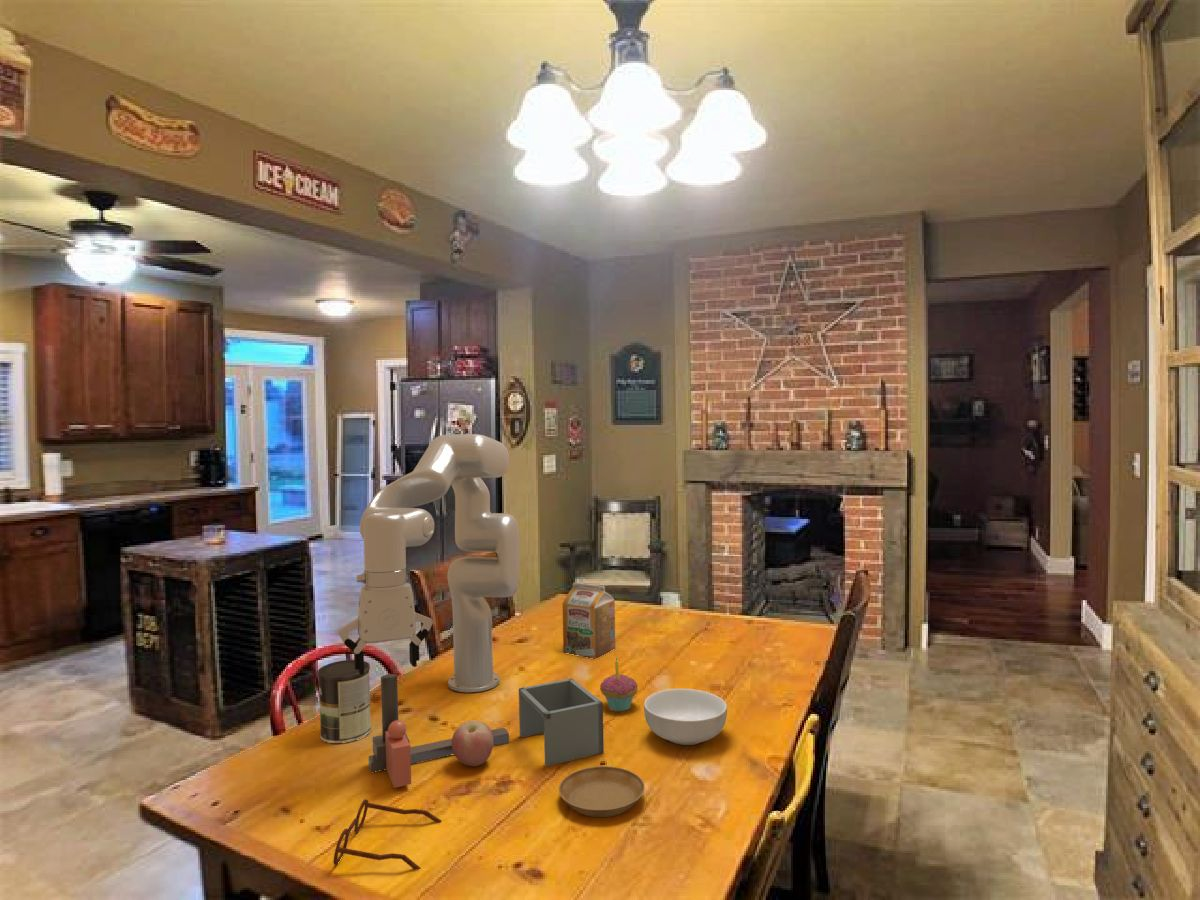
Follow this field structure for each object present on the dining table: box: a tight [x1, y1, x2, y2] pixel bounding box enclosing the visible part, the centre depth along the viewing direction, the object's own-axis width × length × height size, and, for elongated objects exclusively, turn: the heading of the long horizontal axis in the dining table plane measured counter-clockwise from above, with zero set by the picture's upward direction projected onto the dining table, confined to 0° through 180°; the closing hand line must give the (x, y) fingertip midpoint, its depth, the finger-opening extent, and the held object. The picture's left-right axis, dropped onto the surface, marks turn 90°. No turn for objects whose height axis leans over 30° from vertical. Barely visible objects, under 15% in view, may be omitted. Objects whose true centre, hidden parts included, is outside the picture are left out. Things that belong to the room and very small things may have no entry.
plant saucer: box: [558, 765, 646, 818], centre depth 125 cm, size 15×15×3 cm
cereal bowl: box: [643, 688, 728, 746], centre depth 149 cm, size 17×17×7 cm
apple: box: [451, 720, 494, 767], centre depth 139 cm, size 8×8×8 cm
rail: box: [368, 727, 510, 773], centre depth 143 cm, size 3×27×2 cm, turn 116°
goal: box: [518, 677, 605, 767], centre depth 146 cm, size 15×12×10 cm
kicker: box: [372, 673, 412, 788], centre depth 135 cm, size 14×6×16 cm, turn 26°
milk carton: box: [562, 582, 616, 660], centre depth 204 cm, size 11×11×19 cm
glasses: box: [333, 798, 443, 870], centre depth 113 cm, size 13×13×5 cm
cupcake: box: [599, 657, 638, 712], centre depth 164 cm, size 9×8×12 cm
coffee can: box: [317, 659, 372, 744], centre depth 153 cm, size 10×10×14 cm
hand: (387, 668), depth 138 cm, fingers open, 9 cm apart
